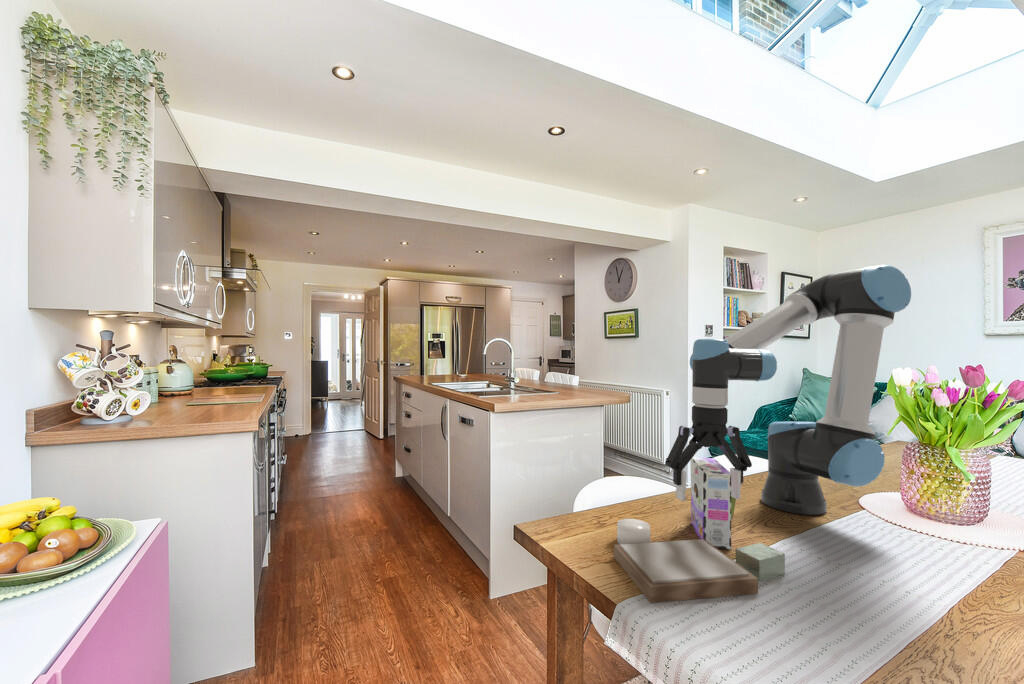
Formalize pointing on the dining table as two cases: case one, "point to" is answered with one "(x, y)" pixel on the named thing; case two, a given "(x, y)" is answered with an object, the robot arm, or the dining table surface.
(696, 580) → the picture frame
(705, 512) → the candy box
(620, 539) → the white rounded dome
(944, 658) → the dining table surface
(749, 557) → the pale green block
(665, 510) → the dining table surface
